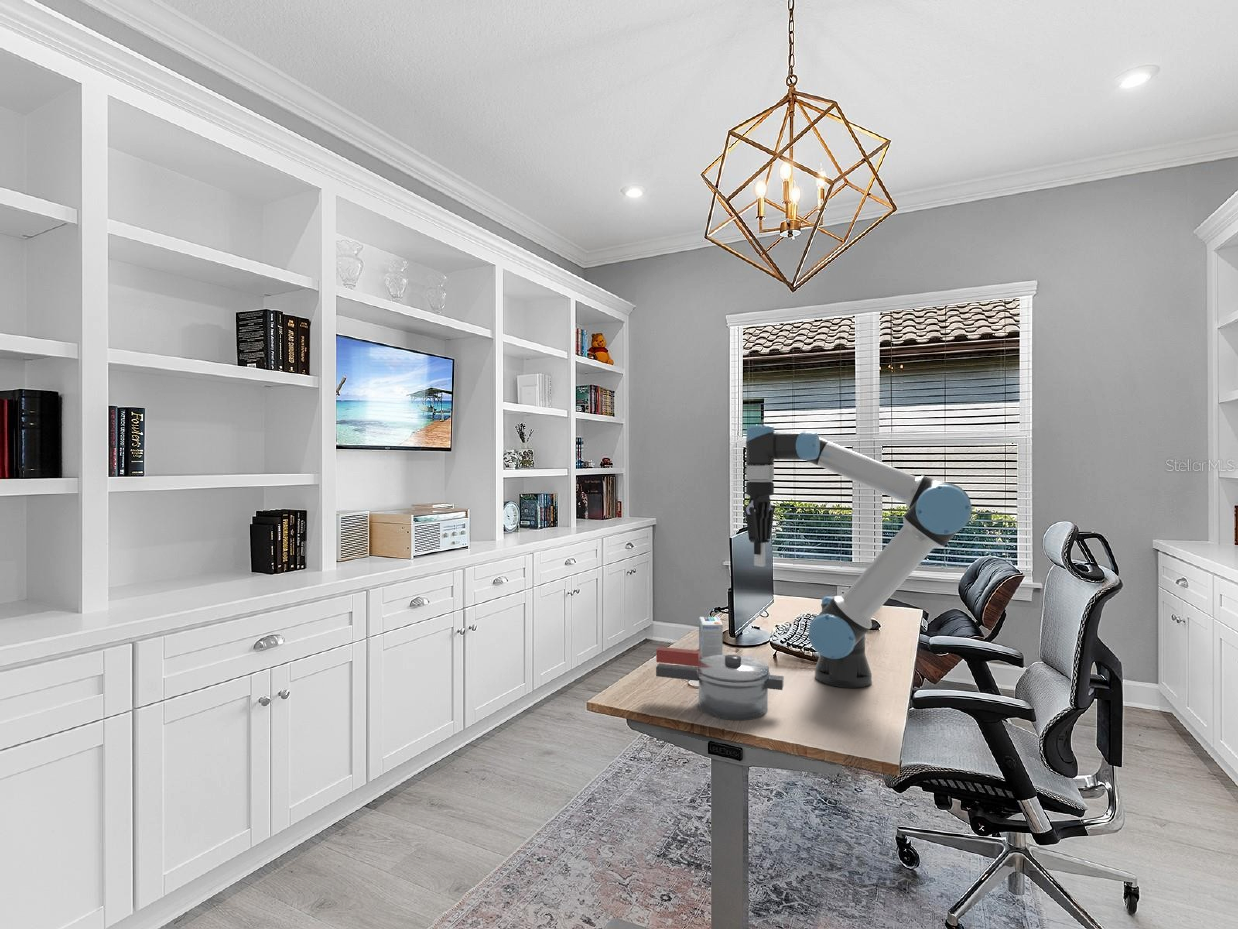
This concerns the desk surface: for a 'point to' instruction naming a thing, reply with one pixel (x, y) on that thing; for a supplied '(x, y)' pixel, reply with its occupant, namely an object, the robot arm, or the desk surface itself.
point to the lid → (716, 664)
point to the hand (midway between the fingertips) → (759, 565)
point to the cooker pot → (726, 692)
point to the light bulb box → (710, 636)
